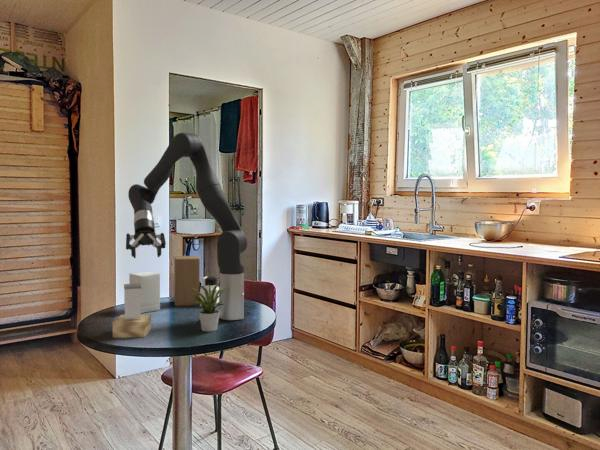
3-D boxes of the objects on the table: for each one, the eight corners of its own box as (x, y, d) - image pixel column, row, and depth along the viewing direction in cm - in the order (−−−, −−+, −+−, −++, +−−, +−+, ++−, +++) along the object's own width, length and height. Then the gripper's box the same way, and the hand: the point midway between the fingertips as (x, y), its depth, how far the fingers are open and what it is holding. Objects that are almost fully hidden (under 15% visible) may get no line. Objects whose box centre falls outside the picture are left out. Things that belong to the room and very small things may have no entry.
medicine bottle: (219, 302, 204) (219, 275, 203) (216, 306, 197) (217, 278, 196) (202, 302, 203) (202, 275, 203) (199, 306, 196) (199, 278, 196)
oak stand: (151, 328, 161) (151, 314, 161) (144, 337, 151) (144, 321, 151) (121, 329, 160) (120, 314, 160) (112, 337, 150) (112, 322, 150)
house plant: (228, 322, 172) (228, 277, 171) (237, 332, 159) (237, 284, 158) (188, 325, 167) (189, 279, 166) (194, 335, 154) (195, 286, 153)
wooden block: (174, 301, 205) (174, 256, 204) (197, 300, 208) (197, 255, 207) (175, 306, 196) (175, 258, 195) (199, 305, 199) (199, 258, 198)
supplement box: (160, 310, 188) (160, 273, 188) (139, 314, 182) (139, 275, 181) (149, 306, 195) (149, 270, 194) (128, 310, 188) (128, 273, 187)
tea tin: (140, 315, 159) (140, 283, 158) (141, 319, 154) (141, 286, 154) (124, 316, 157) (124, 284, 157) (124, 320, 152) (124, 286, 152)
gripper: (125, 217, 179) (126, 250, 169) (163, 217, 184) (167, 249, 174) (124, 230, 184) (126, 263, 174) (162, 230, 189) (165, 261, 179)
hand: (146, 256), depth 174 cm, fingers open, 8 cm apart
